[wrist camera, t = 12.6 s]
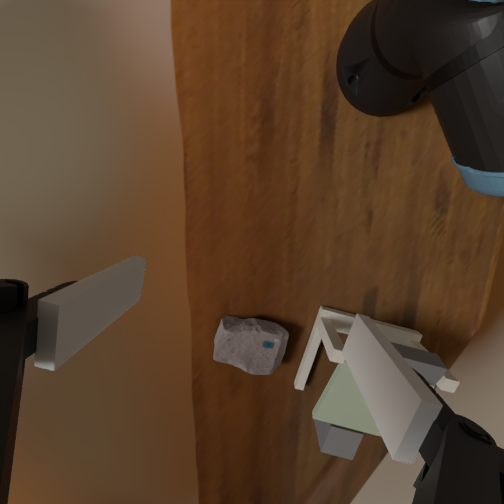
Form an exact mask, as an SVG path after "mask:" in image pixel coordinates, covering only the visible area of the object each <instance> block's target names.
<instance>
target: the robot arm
mask: <svg viewBox="0 0 504 504" xmlns="http://www.w3.org/2000/svg"><path fill="white" fill-rule="evenodd" d="M336 70H337V78H338V83H339V86H340V88H341V91H342V93H343V94H344V96H345V98H346V99H347V100H348V101H349V103H350V104H351V105H352V106H354V107H355V108H356V109H358V110H359V111H361V112H363V113H366V114H369V115H373V116H389V115H394V114H397V113H400V112H402V111H404V110H406V109H408V108H410V107H411V106H413V105H414V104H416V103H417V102H419V101H420V100H422V99H423V98H424V97H425V96H426V95H427V94H428V95H429V98H430V100H431V103H432V105H433V108H434V110H435V113H436V115H437V118H438V120H439V123H440V125H441V128H442V130H443V133H444V136H445V138H446V141H447V143H448V146H449V148H450V151H451V153H452V156H451V159H452V162H453V164H454V165H455V166H457V167H458V169H459V172H460V174H461V176H462V178H463V180H464V182H465V184H466V185H467V186H468V187H469V188H470V189H472V190H474V191H476V192H477V193H480V194H483V195H488V196H495V197H504V0H372V1H371V2H369V3H368V4H367V5H366V6H365V7H364V8H362V10H361V11H360V12H359V13H358V14H357V15H356V17H355V18H354V19H353V21H352V22H351V24H350V25H349V27H348V29H347V31H346V33H345V35H344V37H343V39H342V42H341V44H340V47H339V51H338V55H337V64H336ZM146 260H147V259H146V258H142V257H138V256H132V257H130V258H128V259H126V260H124V261H121V262H119V263H117V264H115V265H113V266H111V267H108V268H107V269H104V270H102V271H100V272H98V273H96V274H93V275H91V276H89V277H87V278H85V279H82V280H80V281H72V282H67V283H63V284H61V285H58V286H56V287H54V288H51V289H49V290H47V291H46V292H42V293H40V294H38V295H35V296H33V297H31V298H29V299H28V288H29V286H28V284H27V283H26V282H24V281H20V280H15V279H0V504H7V503H8V495H9V487H10V479H11V471H12V464H13V455H14V448H15V440H16V431H17V424H18V416H19V408H20V400H21V392H22V384H23V376H24V368H25V359H26V358H27V357H29V356H30V355H32V354H33V353H35V363H34V366H37V367H41V368H44V369H49V370H52V371H55V370H56V369H57V368H58V367H60V366H61V365H62V364H63V363H64V362H66V361H67V360H68V359H69V358H70V357H72V356H73V355H74V354H75V353H76V352H78V351H79V350H80V349H81V348H82V347H84V346H85V345H86V344H87V343H88V342H89V341H91V340H92V339H93V338H94V337H96V335H98V334H99V333H100V332H102V331H103V330H104V329H105V328H106V327H108V326H109V325H110V324H111V323H113V322H114V321H115V320H116V319H117V318H119V316H121V315H122V314H123V313H125V312H126V311H127V310H128V309H129V308H131V307H132V306H133V305H134V304H135V303H137V302H138V301H139V300H140V297H141V291H142V285H143V279H144V272H145V267H146ZM342 354H343V356H344V358H345V360H346V362H347V364H348V366H349V368H350V371H351V373H352V375H353V377H354V379H355V381H356V383H357V385H358V387H359V390H360V392H361V394H362V396H363V398H364V400H365V402H366V404H367V406H368V409H369V411H370V413H371V415H372V417H373V419H374V421H375V423H376V425H377V428H378V430H379V432H380V434H381V436H382V438H383V440H384V442H385V444H386V447H387V449H388V451H389V453H390V455H391V457H392V459H393V460H397V461H401V462H404V463H408V464H413V462H414V460H415V458H416V457H417V455H418V453H419V452H420V454H421V456H422V457H423V459H424V461H425V464H424V466H423V468H422V470H421V472H420V474H419V476H418V477H417V479H416V481H415V483H414V485H413V486H414V487H415V488H416V491H415V495H414V499H413V503H412V504H504V449H502V448H500V447H498V446H497V445H496V443H495V440H494V439H493V438H492V437H491V436H490V435H489V433H487V432H486V431H485V430H484V429H483V428H482V427H480V426H479V425H477V424H476V423H475V422H473V421H471V420H469V419H467V418H466V417H463V416H460V415H457V414H455V413H454V412H453V411H452V410H451V408H450V407H449V406H448V405H447V404H446V403H445V401H443V399H442V398H441V397H440V396H439V394H437V393H436V391H435V390H434V389H433V387H432V386H430V384H429V383H428V382H427V380H426V379H425V378H424V377H423V376H422V375H421V374H420V373H418V372H417V371H416V370H415V369H413V368H412V367H411V366H410V365H409V364H408V363H407V362H406V360H405V359H404V358H403V357H402V356H401V354H400V353H399V352H398V351H397V350H396V348H395V347H394V346H393V345H392V344H391V342H390V341H389V340H388V339H387V338H386V336H385V335H384V334H383V333H382V332H381V330H380V329H379V328H378V327H377V326H376V324H375V323H374V322H373V321H372V320H371V318H370V317H368V316H365V315H361V314H356V317H355V319H354V322H353V325H352V327H351V330H350V332H349V335H348V338H347V340H346V343H345V345H344V348H343V351H342Z"/></svg>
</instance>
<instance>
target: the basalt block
mask: <svg viewBox="0 0 504 504" xmlns="http://www.w3.org/2000/svg"><path fill="white" fill-rule="evenodd" d="M314 422H315V427H316V431H317V436H318V441H319V446H320V451H321V452H323V453H327V454H331V455H335V456H339V457H343V458H346V459H350V460H353V457H354V455H355V453H356V451H357V448H358V446H359V444H360V442H361V440H362V437H363V435H364V434H363V432H361V431H358V430H354V429H350V428H346V427H342V426H339V425H335V424H331V423H327V422H323V421H320V420H316V419H314Z"/></svg>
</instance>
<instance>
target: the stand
mask: <svg viewBox="0 0 504 504" xmlns="http://www.w3.org/2000/svg"><path fill="white" fill-rule="evenodd" d="M355 317H356V315H355V314H351V313H347V312H343V311H340V310H336V309H332V308H328V307H324V306H321V307H320V309H319V312H318V315H317V318H316V321H315V324H314V327H313V330H312V333H311V336H310V338H309V341H308V344H307V347H306V350H305V353H304V356H303V359H302V362H301V364H300V367H299V370H298V373H297V376H296V379H295V382H294V384H295V388H296V389H300V390H303V389H304V386H305V383H306V380H307V378H308V375H309V372H310V369H311V367H312V364H313V361H314V358H315V355H316V353H317V350H318V347H319V344H320V341H321V339H322V341H323V344H324V347H325V349H326V352H327V355H328V357H329V360H330V361H333V362H337V363H340V364H343V363H344V360H345V358H344V356H343V354H342V351H343V348H344V345H343V343H342V341H341V339H340V337H339V335H338V333H337V332H341V333H345V334H348V335H349V332H350V330H351V327H352V325H353V322H354V319H355ZM371 320H372V321H373V322H374V323H375V324H376V326H377V327H378V328H379V329H380V330H381V332H382V333H383V334H384V335H385V336H386V338H387V339H388V340H389V341H390V342H393V343H397V344H401V345H405V346H409V347H412V348H416V349H420V350H424V351H427V350H426V349H425V348H424V347H423V346H422V345H421V344H420V341H421V338H422V336H423V335H422V334H420V333H419V332H418V331H416V330H412V329H408V328H404V327H401V326H397V325H393V324H389V323H385V322H381V321H378V320H374V319H371ZM428 352H429V351H428ZM435 384H436V385H437V386H438V387H439V388H440V390H443V391H447V392H451V393H454V392H455V390H456V388H457V386H458V385H459V381H458V380H457V379H456V378H455V377H454V376H453V375H452V374H451V373H450V372H449V371H448V370H447V371H446V372H445V374H444V375H443V376H442V377H441V379H440V380H439V381H438V382H437V383H435Z"/></svg>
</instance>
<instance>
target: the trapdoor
mask: <svg viewBox="0 0 504 504" xmlns="http://www.w3.org/2000/svg"><path fill="white" fill-rule="evenodd" d="M391 344H392V345H393V346H394V347H395V348H396V350H397V351H398V352H399V353H400V354H401V356H402V357H403V358H404V359H405V360H406V362H407V363H408V364H409V365H410V366H411V367H412V368H413V369H415V370H416V371H417V372H418V373H420V374H421V375H422V376H423V377H424V378H425V379H426V380H427V382H428V383H429V384H430V386H432V387H433V389H434V387H435V383H437V382H438V381H439V380H440V379H441V377H442V376H443V375H444V374H445V372H446V371H447V370H448V369H447V367H446V366H445V364H444V363H443V362H442V360H441V359H440V357H439V356H438V355H437V354H435V353H431V352H428V351H424V350H420V349H416V348H412V347H409V346H405V345H401V344H397V343H393V342H391ZM312 415H313V419H316V420H320V421H323V422H327V423H331V424H335V425H339V426H342V427H346V428H350V429H354V430H358V431H361V432H365V433H369V434H373V435H377V436H381V434H380V432H379V430H378V428H377V425H376V423H375V421H374V419H373V417H372V415H371V413H370V411H369V409H368V406H367V404H366V402H365V400H364V398H363V396H362V394H361V392H360V390H359V387H358V385H357V383H356V381H355V379H354V377H353V375H352V373H351V371H350V368H349V366H348V364H347V362H346V360H344V363H343V364H340V363H339V364H338V366H337V367H336V369H335V371H334V373H333V375H332V377H331V378H330V380H329V382H328V384H327V386H326V388H325V389H324V391H323V393H322V395H321V397H320V399H319V400H318V402H317V404H316V406H315V408H314V409H313V411H312ZM381 437H382V436H381Z"/></svg>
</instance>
